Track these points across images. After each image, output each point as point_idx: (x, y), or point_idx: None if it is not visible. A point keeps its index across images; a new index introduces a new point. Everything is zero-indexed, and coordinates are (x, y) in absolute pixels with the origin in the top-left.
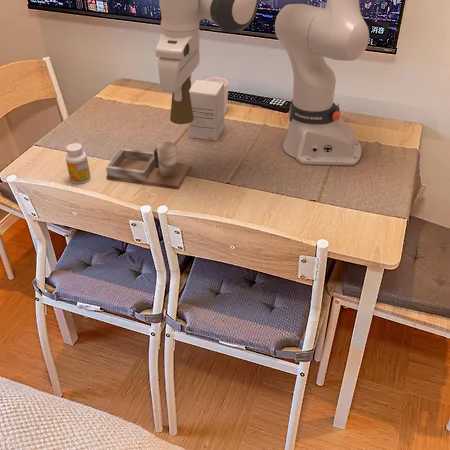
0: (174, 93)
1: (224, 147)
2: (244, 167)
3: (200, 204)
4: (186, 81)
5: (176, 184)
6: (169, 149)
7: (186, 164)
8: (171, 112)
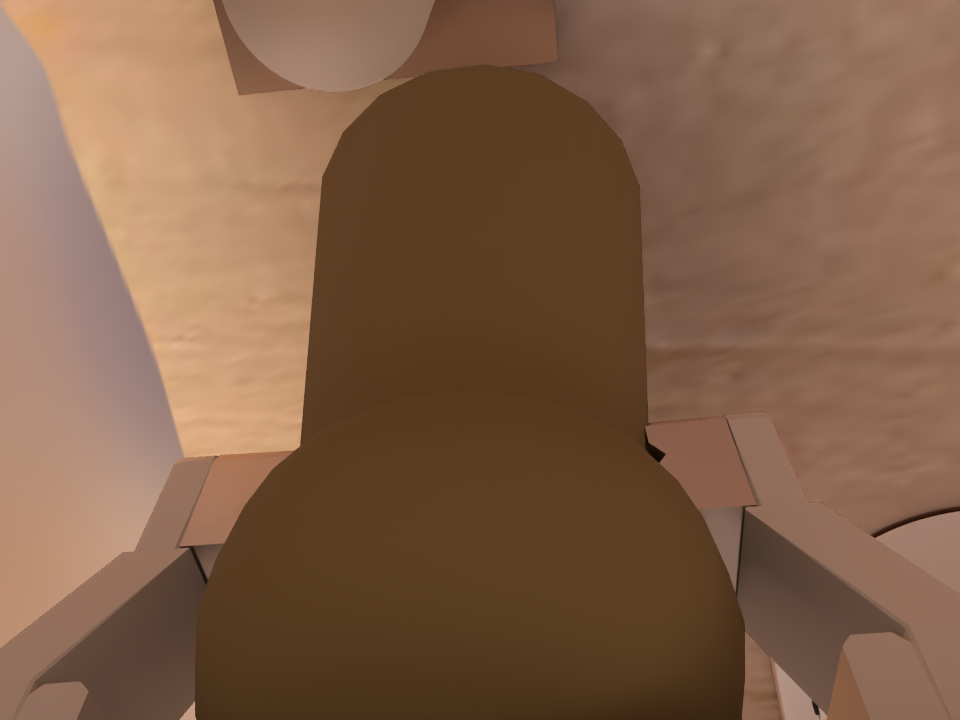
0: (111, 580)
1: (920, 190)
2: (662, 382)
3: (174, 280)
4: None
5: (251, 73)
6: (283, 45)
7: (547, 28)
8: (353, 179)
